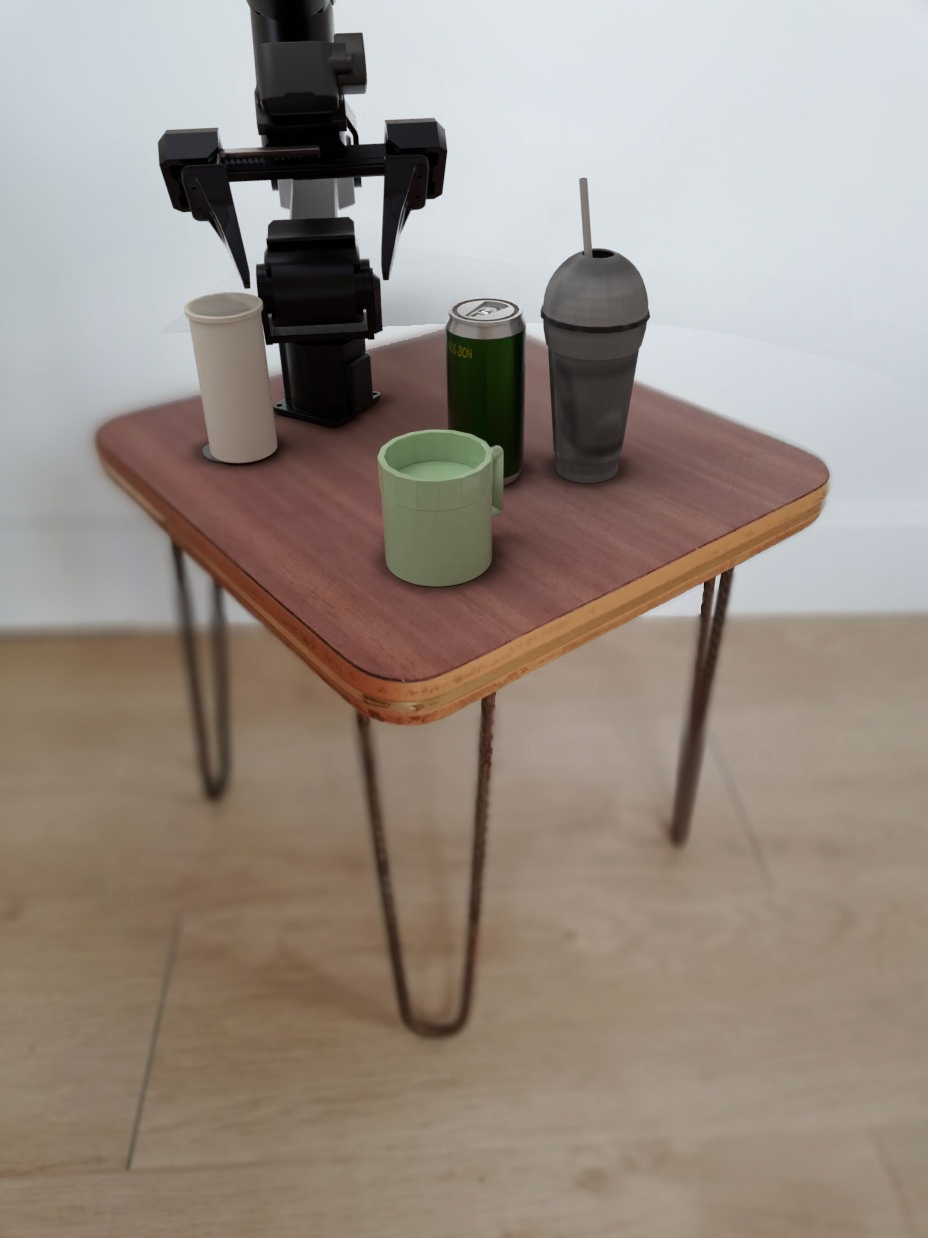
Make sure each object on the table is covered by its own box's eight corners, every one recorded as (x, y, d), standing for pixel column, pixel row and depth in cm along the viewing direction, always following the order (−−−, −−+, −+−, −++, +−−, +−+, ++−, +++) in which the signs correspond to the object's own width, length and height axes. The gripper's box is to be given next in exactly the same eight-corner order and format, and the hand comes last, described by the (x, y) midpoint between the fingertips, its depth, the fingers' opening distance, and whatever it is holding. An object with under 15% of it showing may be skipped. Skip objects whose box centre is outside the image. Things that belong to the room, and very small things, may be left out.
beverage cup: (633, 496, 75) (658, 195, 64) (529, 487, 77) (535, 191, 65) (640, 450, 81) (664, 166, 70) (543, 442, 82) (551, 163, 71)
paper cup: (216, 432, 84) (193, 292, 78) (285, 432, 84) (268, 291, 78) (200, 464, 80) (175, 318, 74) (273, 464, 80) (255, 317, 73)
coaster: (191, 455, 82) (191, 453, 81) (226, 435, 84) (226, 432, 84) (233, 467, 80) (232, 464, 80) (267, 446, 83) (266, 443, 83)
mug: (428, 600, 65) (424, 492, 61) (364, 554, 70) (356, 451, 65) (536, 550, 70) (538, 447, 65) (468, 511, 74) (467, 411, 70)
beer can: (496, 497, 75) (496, 329, 69) (434, 477, 78) (428, 313, 71) (537, 467, 79) (542, 305, 72) (477, 449, 82) (475, 290, 75)
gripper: (133, -13, 66) (149, 224, 63) (439, -23, 68) (467, 207, 65) (167, 105, 77) (181, 311, 74) (429, 93, 79) (453, 294, 76)
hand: (316, 281), depth 72 cm, fingers open, 9 cm apart
